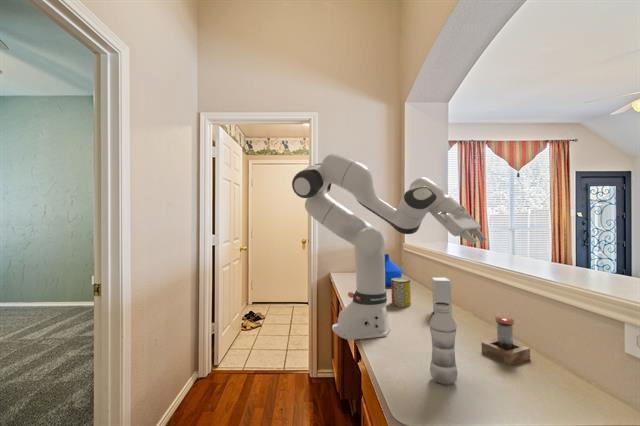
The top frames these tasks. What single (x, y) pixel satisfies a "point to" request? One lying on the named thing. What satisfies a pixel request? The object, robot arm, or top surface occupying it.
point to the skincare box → (441, 291)
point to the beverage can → (401, 292)
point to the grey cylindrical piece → (504, 332)
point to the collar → (506, 352)
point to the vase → (391, 271)
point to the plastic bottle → (443, 345)
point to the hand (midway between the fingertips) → (480, 242)
